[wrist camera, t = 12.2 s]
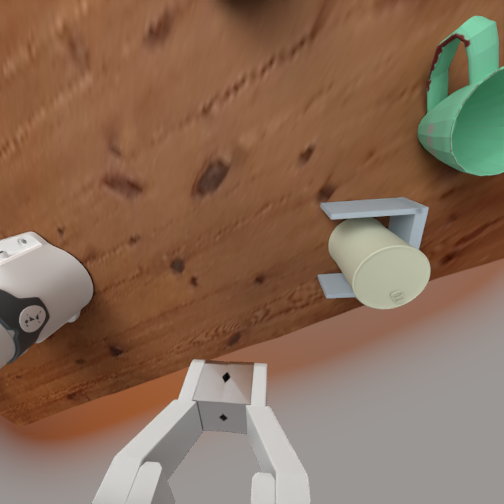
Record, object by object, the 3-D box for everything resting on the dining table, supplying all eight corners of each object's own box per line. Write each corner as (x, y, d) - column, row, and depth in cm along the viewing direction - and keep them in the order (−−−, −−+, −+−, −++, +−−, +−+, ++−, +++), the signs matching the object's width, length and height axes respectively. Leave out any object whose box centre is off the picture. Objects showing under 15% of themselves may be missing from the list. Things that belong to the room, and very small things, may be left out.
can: (341, 275, 42) (369, 322, 31) (318, 233, 39) (341, 270, 28) (393, 251, 40) (442, 293, 29) (374, 204, 37) (421, 232, 26)
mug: (483, 140, 33) (568, 141, 24) (410, 179, 35) (462, 194, 26) (458, 21, 27) (556, -37, 18) (375, 76, 30) (424, 49, 21)
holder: (317, 278, 43) (326, 298, 37) (321, 203, 37) (331, 214, 31) (388, 274, 42) (408, 294, 36) (403, 197, 36) (428, 207, 31)
